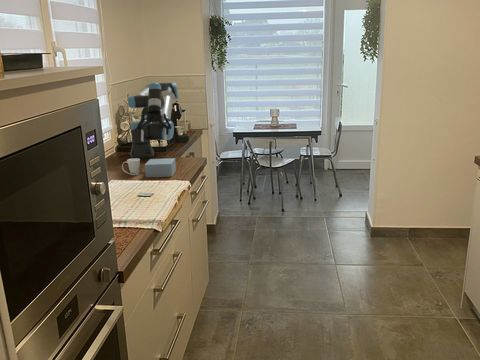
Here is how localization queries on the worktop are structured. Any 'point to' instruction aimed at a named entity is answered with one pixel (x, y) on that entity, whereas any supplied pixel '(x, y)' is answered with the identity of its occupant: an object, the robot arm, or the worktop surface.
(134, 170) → the cup
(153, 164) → the slate box
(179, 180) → the worktop surface
